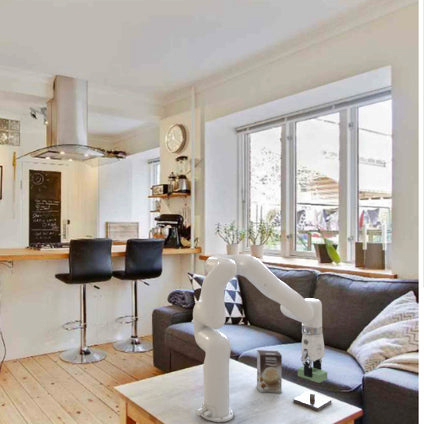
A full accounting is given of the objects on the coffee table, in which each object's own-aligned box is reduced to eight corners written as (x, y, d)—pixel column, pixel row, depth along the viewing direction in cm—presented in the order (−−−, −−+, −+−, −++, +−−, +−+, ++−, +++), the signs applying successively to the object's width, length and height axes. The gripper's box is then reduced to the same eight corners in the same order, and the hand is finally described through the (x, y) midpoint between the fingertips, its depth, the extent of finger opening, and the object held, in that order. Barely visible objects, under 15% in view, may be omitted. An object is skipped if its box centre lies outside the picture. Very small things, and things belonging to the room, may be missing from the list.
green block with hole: (319, 383, 164) (319, 375, 164) (297, 375, 171) (297, 368, 171) (327, 379, 168) (327, 371, 168) (305, 372, 175) (305, 365, 175)
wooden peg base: (317, 411, 162) (317, 401, 162) (293, 402, 170) (293, 392, 170) (331, 403, 169) (331, 393, 168) (307, 394, 176) (307, 385, 176)
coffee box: (260, 392, 179) (259, 354, 179) (256, 386, 185) (256, 349, 185) (282, 393, 178) (281, 355, 178) (278, 386, 184) (277, 350, 184)
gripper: (309, 336, 161) (310, 383, 161) (331, 327, 171) (332, 371, 171) (291, 332, 167) (292, 377, 167) (313, 324, 177) (314, 366, 177)
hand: (312, 373), depth 169 cm, fingers closed on green block with hole, 6 cm apart
